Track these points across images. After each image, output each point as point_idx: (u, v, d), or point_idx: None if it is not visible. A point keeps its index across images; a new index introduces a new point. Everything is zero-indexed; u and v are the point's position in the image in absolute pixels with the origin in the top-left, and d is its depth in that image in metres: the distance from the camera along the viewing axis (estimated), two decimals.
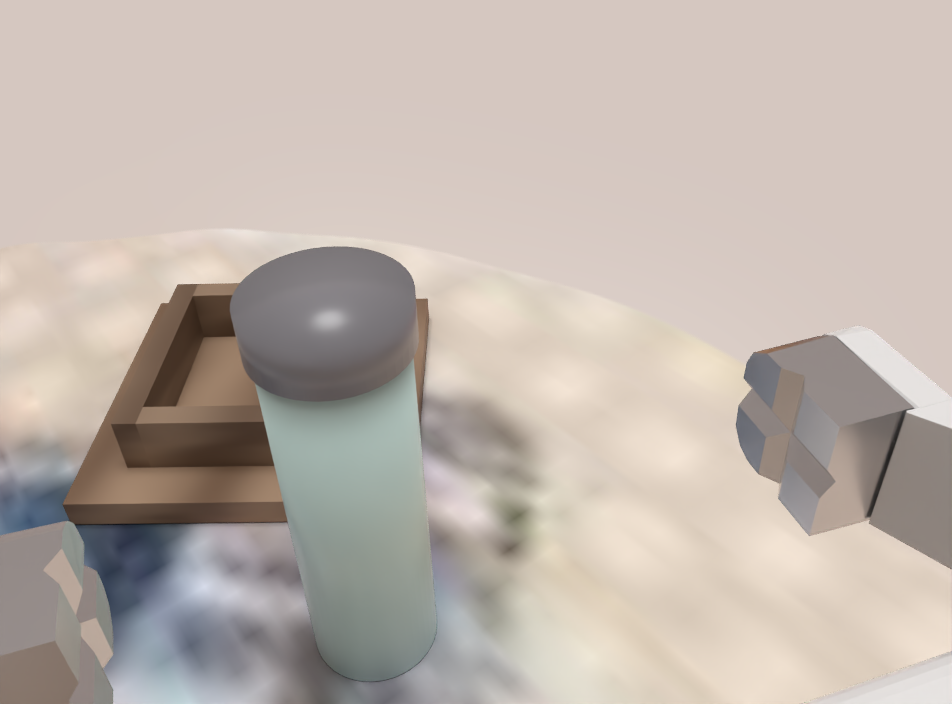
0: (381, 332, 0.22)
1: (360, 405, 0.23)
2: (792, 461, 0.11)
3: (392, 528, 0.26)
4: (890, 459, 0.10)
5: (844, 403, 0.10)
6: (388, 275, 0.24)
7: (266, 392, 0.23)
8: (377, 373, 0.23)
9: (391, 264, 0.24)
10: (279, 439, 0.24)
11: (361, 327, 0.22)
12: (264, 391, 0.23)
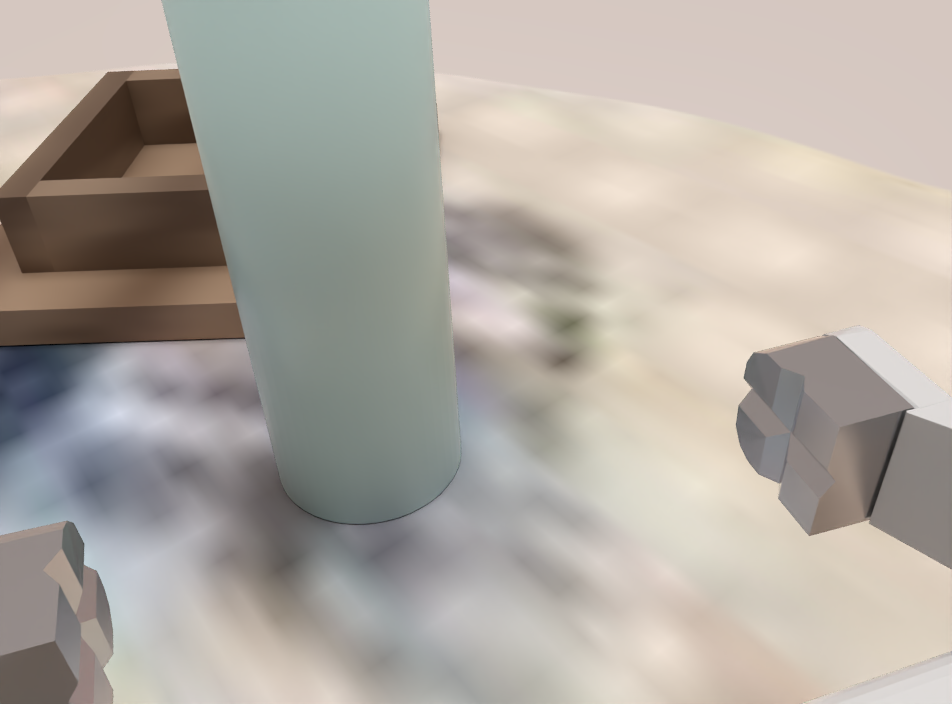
0: None
1: None
2: (792, 461, 0.11)
3: (388, 216, 0.16)
4: (891, 459, 0.10)
5: (844, 403, 0.10)
6: None
7: None
8: None
9: None
10: (183, 12, 0.14)
11: None
12: None
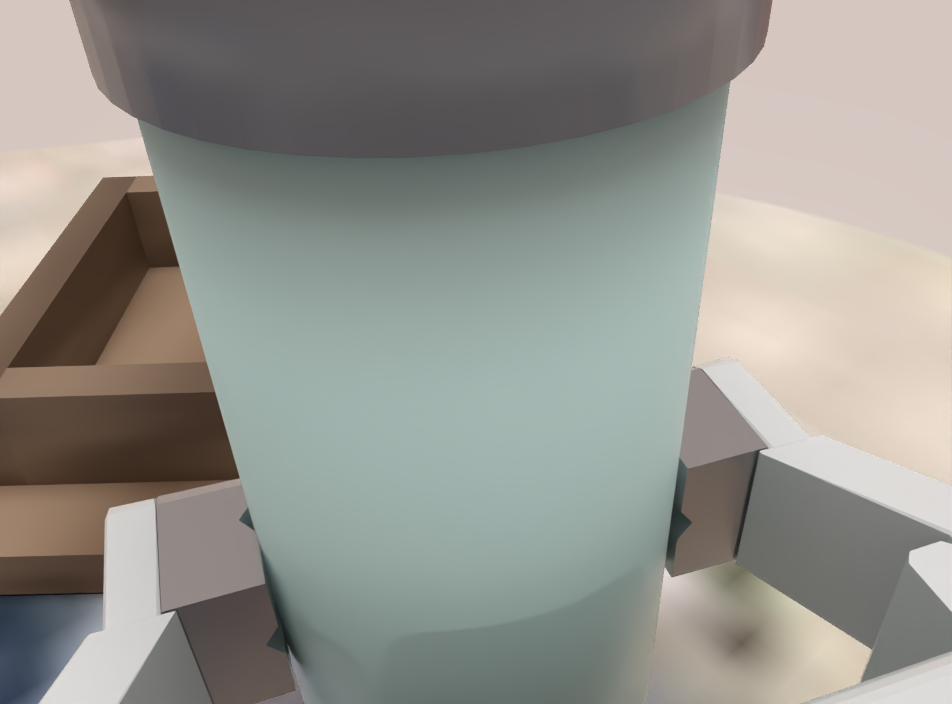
0: None
1: (584, 203, 0.05)
2: None
3: (602, 661, 0.09)
4: (749, 499, 0.10)
5: (697, 442, 0.10)
6: None
7: (181, 164, 0.06)
8: (684, 27, 0.05)
9: None
10: (242, 375, 0.07)
11: None
12: (174, 163, 0.06)
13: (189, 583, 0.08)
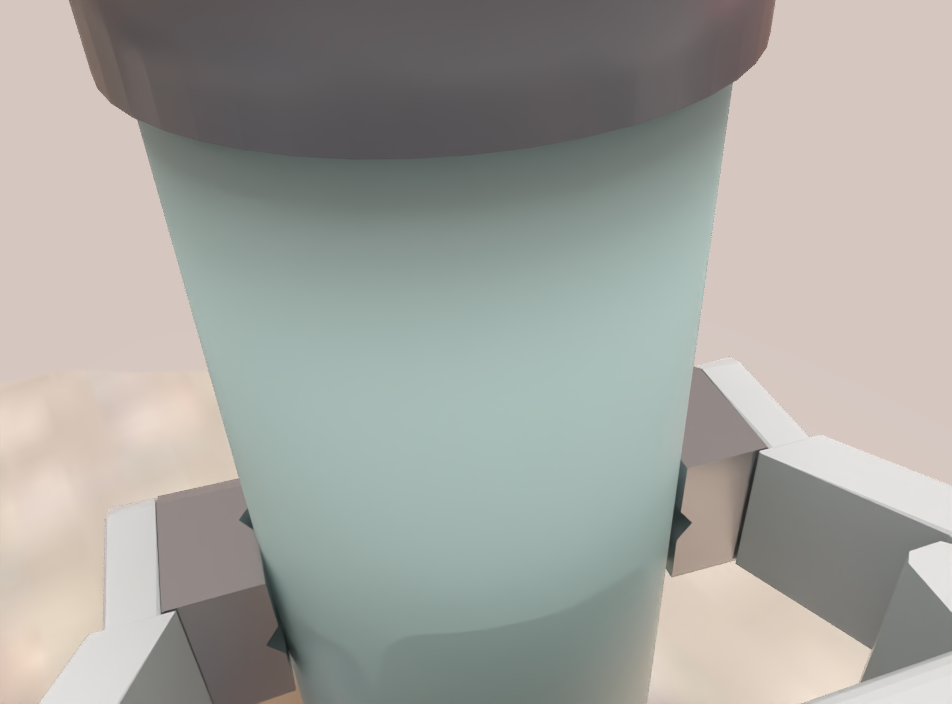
0: None
1: (586, 204, 0.05)
2: None
3: (603, 665, 0.09)
4: (749, 499, 0.10)
5: (697, 442, 0.10)
6: None
7: (181, 165, 0.06)
8: (687, 28, 0.05)
9: None
10: (241, 376, 0.07)
11: None
12: (174, 164, 0.06)
13: (189, 583, 0.08)
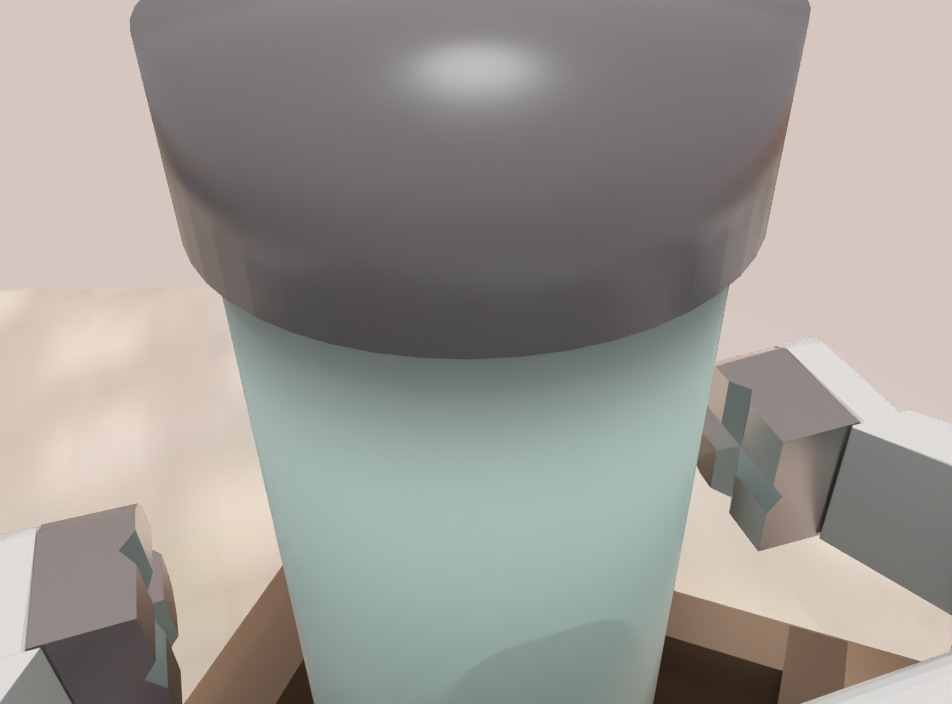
0: (755, 62, 0.05)
1: (611, 381, 0.06)
2: (741, 475, 0.11)
3: None
4: (838, 474, 0.10)
5: (790, 417, 0.10)
6: None
7: (263, 334, 0.07)
8: (701, 251, 0.06)
9: None
10: (301, 497, 0.07)
11: (658, 52, 0.05)
12: (256, 331, 0.07)
13: (59, 617, 0.08)
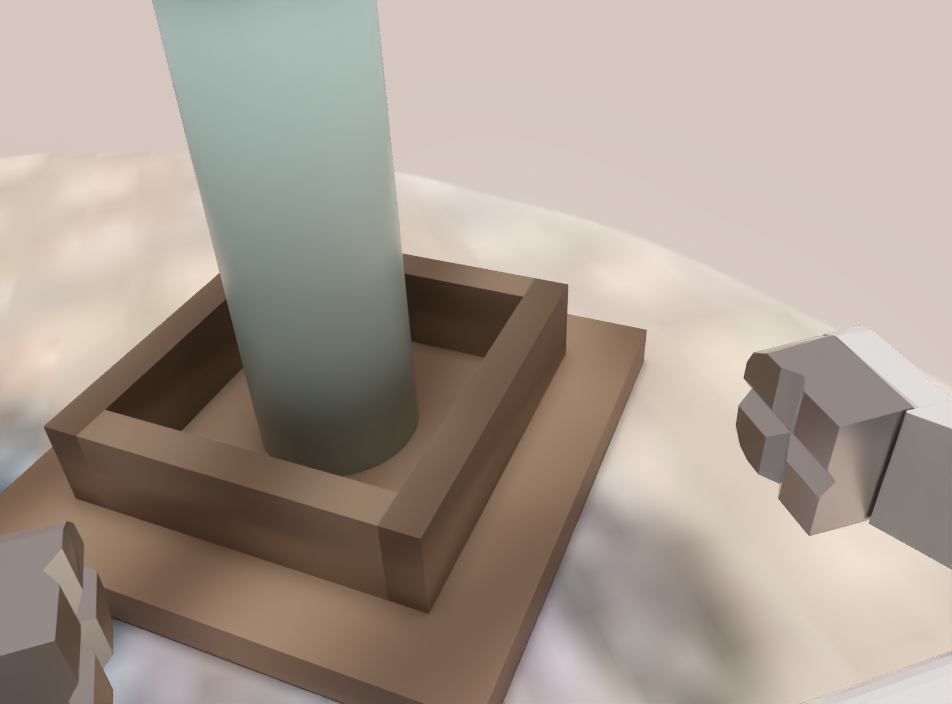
0: None
1: None
2: (792, 461, 0.11)
3: (346, 213, 0.19)
4: (890, 459, 0.10)
5: (844, 403, 0.10)
6: None
7: None
8: None
9: None
10: (179, 49, 0.17)
11: None
12: None
13: None
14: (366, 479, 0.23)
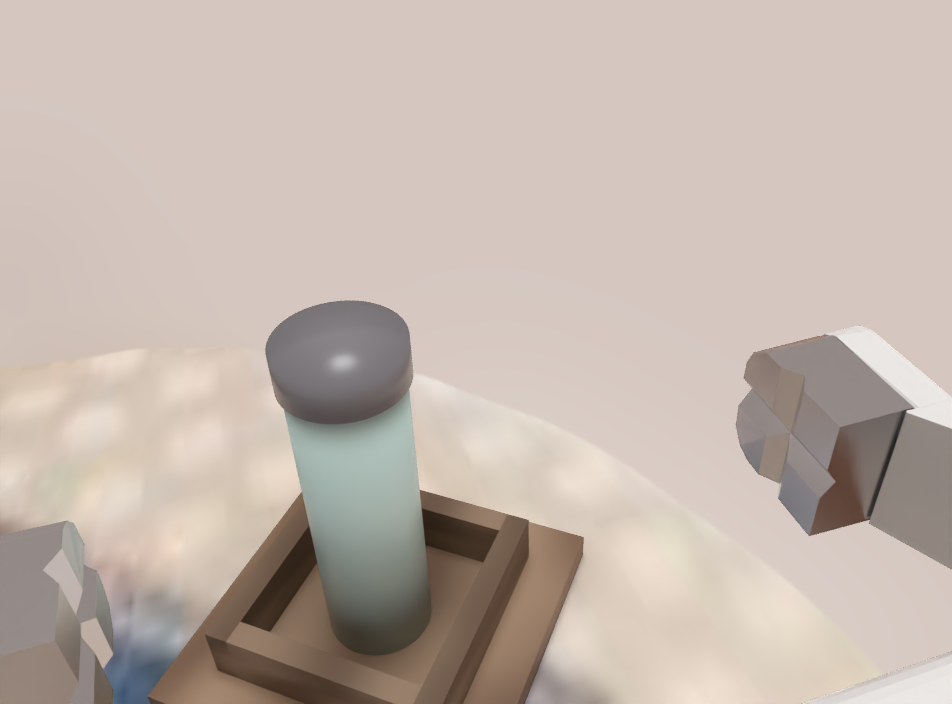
0: (384, 370, 0.28)
1: (368, 427, 0.30)
2: (792, 461, 0.11)
3: (393, 525, 0.33)
4: (890, 459, 0.10)
5: (844, 403, 0.10)
6: (388, 324, 0.30)
7: (294, 417, 0.30)
8: (380, 402, 0.29)
9: (391, 315, 0.31)
10: (303, 454, 0.31)
11: (368, 366, 0.29)
12: (292, 416, 0.30)
13: None
14: (399, 657, 0.37)
